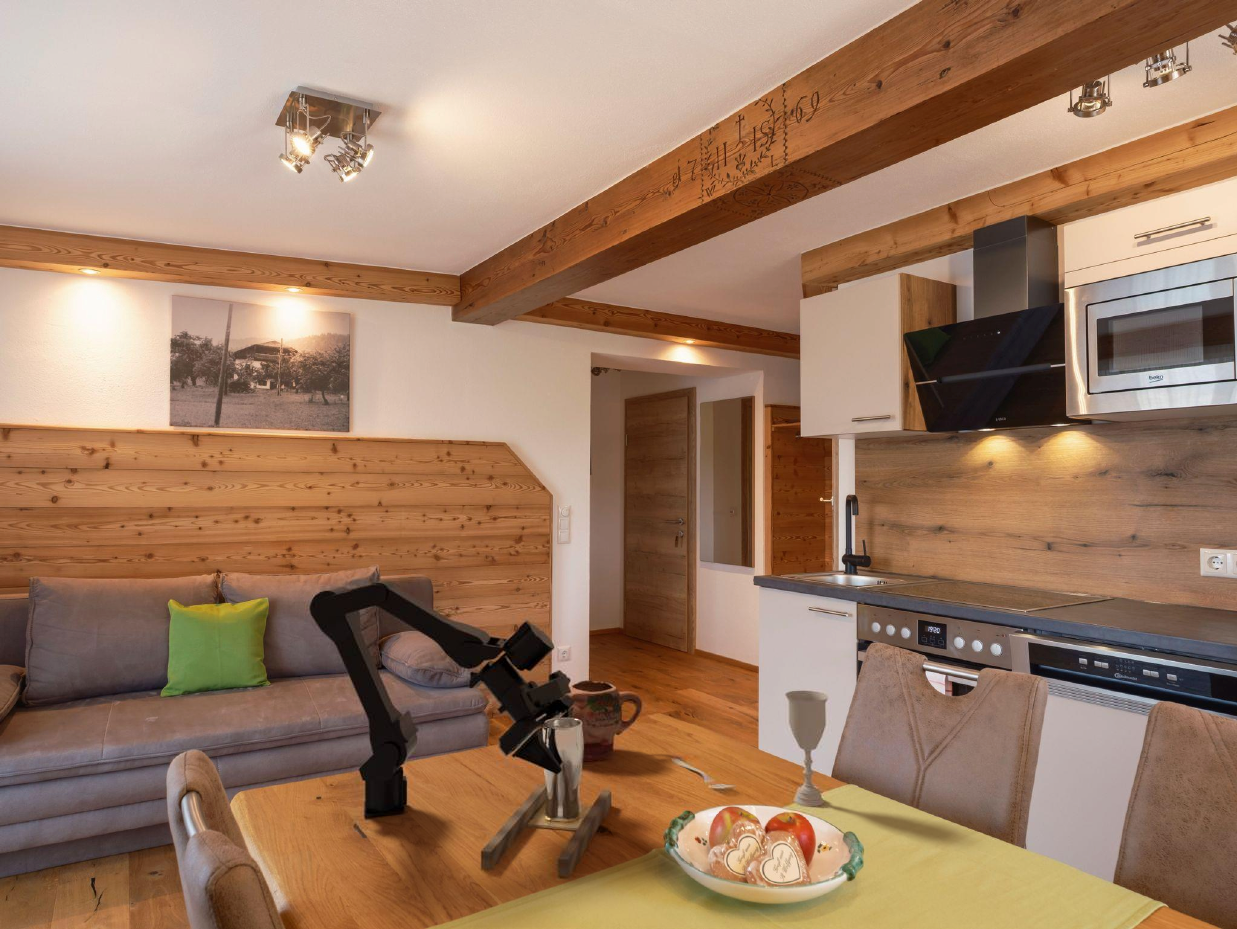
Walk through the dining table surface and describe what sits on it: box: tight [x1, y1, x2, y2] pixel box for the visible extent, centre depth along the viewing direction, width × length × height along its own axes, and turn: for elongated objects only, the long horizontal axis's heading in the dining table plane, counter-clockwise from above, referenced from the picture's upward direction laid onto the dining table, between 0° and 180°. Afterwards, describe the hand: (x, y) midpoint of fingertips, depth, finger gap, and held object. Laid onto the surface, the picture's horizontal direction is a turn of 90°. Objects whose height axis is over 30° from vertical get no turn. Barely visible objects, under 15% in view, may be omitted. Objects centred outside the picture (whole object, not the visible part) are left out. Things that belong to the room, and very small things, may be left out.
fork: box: [671, 757, 737, 790], centre depth 152 cm, size 3×24×2 cm, turn 25°
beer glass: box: [543, 717, 584, 822], centre depth 132 cm, size 7×7×15 cm
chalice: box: [785, 690, 829, 807], centre depth 138 cm, size 7×7×18 cm
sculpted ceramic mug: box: [565, 680, 643, 762], centre depth 164 cm, size 20×12×14 cm, turn 113°
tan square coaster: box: [526, 802, 593, 832], centre depth 132 cm, size 9×10×1 cm
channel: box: [480, 784, 612, 878], centre depth 125 cm, size 26×13×2 cm, turn 167°
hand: (571, 762), depth 131 cm, fingers open, 9 cm apart
